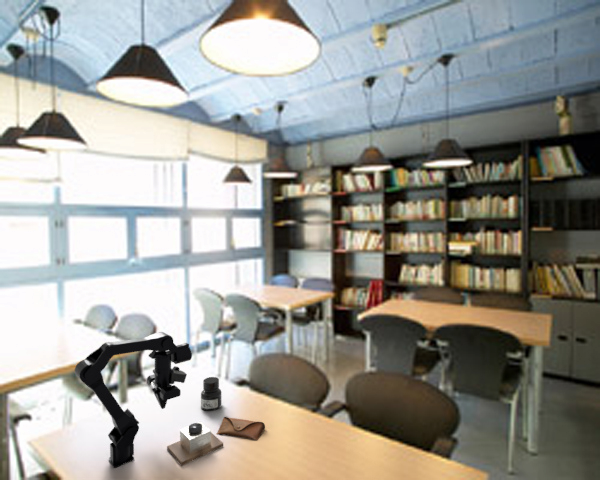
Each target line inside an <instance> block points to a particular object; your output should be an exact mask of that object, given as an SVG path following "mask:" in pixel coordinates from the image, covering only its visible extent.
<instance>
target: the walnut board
mask: <svg viewBox="0 0 600 480" xmlns="http://www.w3.org/2000/svg"><path fill="white" fill-rule="evenodd" d="M222 447H224V442H223V441H221V440H220V439H219V438H218V437H217V436H216V434H213V433H212V432H211V445H210V446H208V447H206V448H203V449H201V450H199V451H197V452H195V453H192V454H189V453H188V452H187V451H186V450H185V449H184V448H183V447H182V445H181V444H180V440H179V441H176V442H174V443H172V444H169V445H167V446H166V450H167V451H168V452H169V453H170V455H171V456H173V458H174V459H175V460H176V461H177V462H178V464H179V465H180V466H181V467H182V466H184V465H186V464H189V463H190V462H193V461H194V460H198V459H200V458H202V457H204V456H205V455H208V454H210V453H212V452H214V451H216V450H218V449H220V448H222Z"/></svg>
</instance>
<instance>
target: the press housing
mask: <svg viewBox="0 0 600 480" xmlns="http://www.w3.org/2000/svg"><path fill="white" fill-rule="evenodd" d="M198 423H200V424H202V431H200V432H199V433H195V434H192V433H189V431H188V427H189V426H186V427H184V428H182V429H180V430H179V441H180V444H181V445H182V447H183V448H184V449H185V450H186V451H187V452H188V453H189V454H192V453H195V452H197V451H199V450H201V449H203V448H206V447H208V446H210V445H211V433H212V432H211V430H210V429H209V428H208V427H207V426H206V425H205V424H204V423H202V422H201V421H200V422H198Z"/></svg>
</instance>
